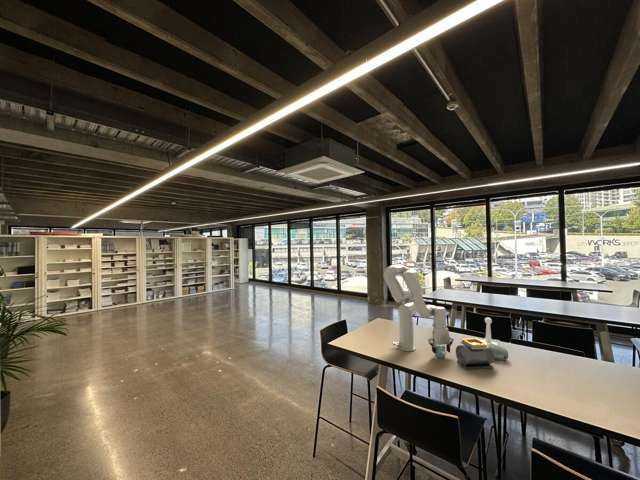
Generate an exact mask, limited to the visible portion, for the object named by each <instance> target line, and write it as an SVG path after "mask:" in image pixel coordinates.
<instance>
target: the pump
mask: <svg viewBox="0 0 640 480" xmlns="http://www.w3.org/2000/svg"><path fill="white" fill-rule="evenodd" d="M435 347H436V353H434V357H435V358H438V359H446V355H447V351H446V345H445V344H443V345H437V344H436V346H435Z"/></svg>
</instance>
